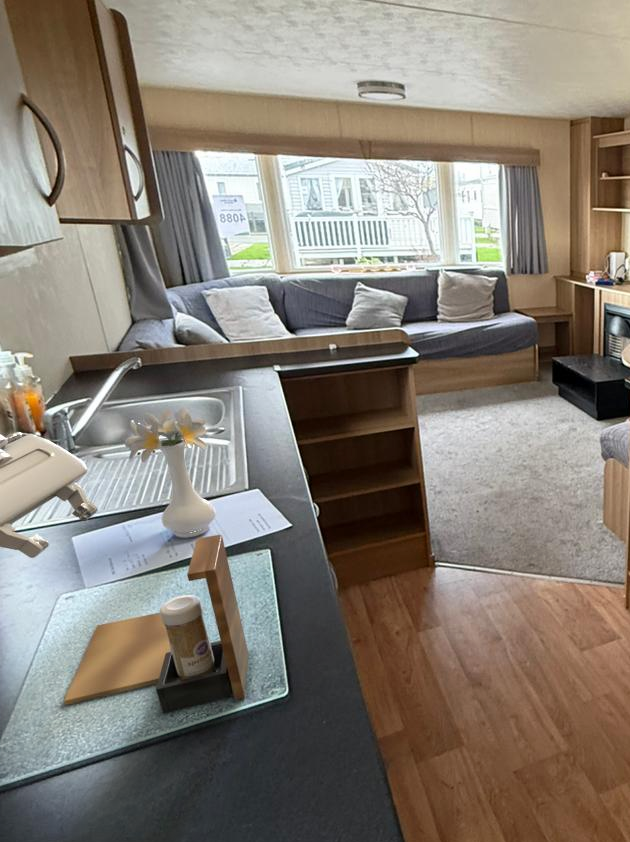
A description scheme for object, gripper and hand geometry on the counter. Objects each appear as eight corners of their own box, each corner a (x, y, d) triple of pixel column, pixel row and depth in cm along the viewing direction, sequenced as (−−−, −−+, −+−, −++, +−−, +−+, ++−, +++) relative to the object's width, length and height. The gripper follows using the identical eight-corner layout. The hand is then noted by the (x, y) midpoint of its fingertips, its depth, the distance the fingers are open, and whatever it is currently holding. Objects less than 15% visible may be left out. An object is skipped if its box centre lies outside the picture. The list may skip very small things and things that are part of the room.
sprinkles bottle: (206, 698, 87) (184, 614, 82) (174, 696, 87) (150, 612, 83) (227, 675, 91) (207, 594, 87) (196, 673, 92) (175, 592, 87)
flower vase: (228, 506, 142) (204, 396, 134) (225, 542, 127) (198, 421, 118) (158, 517, 137) (128, 404, 128) (146, 557, 121) (112, 432, 113)
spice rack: (161, 719, 84) (122, 586, 77) (173, 671, 92) (138, 547, 85) (244, 698, 87) (214, 569, 80) (248, 653, 96) (221, 534, 89)
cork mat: (65, 705, 86) (63, 701, 86) (98, 629, 101) (97, 625, 101) (170, 680, 90) (169, 675, 90) (187, 611, 106) (186, 606, 106)
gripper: (8, 443, 85) (102, 511, 90) (-140, 511, 66) (-10, 593, 71) (37, 412, 85) (132, 482, 89) (-104, 472, 65) (25, 558, 70)
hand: (68, 532), depth 80 cm, fingers open, 8 cm apart
